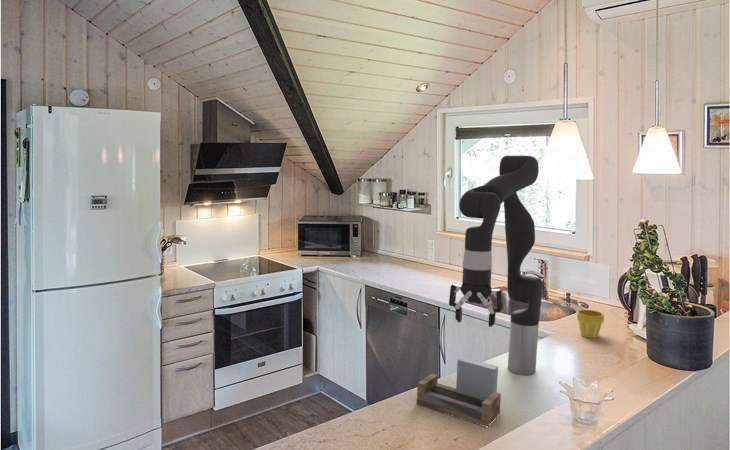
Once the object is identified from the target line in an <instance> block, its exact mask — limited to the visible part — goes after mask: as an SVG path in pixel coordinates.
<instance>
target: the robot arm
mask: <svg viewBox="0 0 730 450" xmlns="http://www.w3.org/2000/svg"><path fill="white" fill-rule="evenodd" d="M539 168H540V166H539V162H538V160H537V158H536V157H534V156H531V155H504V156H503V157H502V158H501V159H500V162H499V170H498V172H499V175H497V176H495V177H493V178H491V179H490V180H488V181H487V182H486V183H484V184H483V185H479V186H477V187H474V188H470V189H469V190H466V191H465V192H464V193H463V194H462V195H461V197H460V200H459V205H458V207H459V211H460V213H461V214H462V215H463V216H464V217H467V218H470V219H471V218H472V219H482V223H481V224H480V225H478V226H477V225H476V226H470V227H468V228H467V229H466V230H465V234H464V236H465V237H464V252H463V256H462V257H463V258H462V259H463V261H462V284H461V285H460V284H457V283H456V282H454V283H453V284H451V285H450V287H449V288H450V289H449V299H448V306H450V307H453V308H454V309H455V320H456V321H457V323H461V322H462V320H463V307H462V306H463V305H464V304H465V303H466V302H468V303H471V304H473V303H475V304H478V305H481V304H483V306H484V307H485V308H486V309H487V310H488V312H489V313H488V327H489V328H492V326H494V325H495V323H496V314H497V313H501V312H502V311H503V310H504V295H503V293H504V292H503V289H502V288H498V289H493V288H492V286H491V285H492V269H493V267H492V265H493V264H492V263H493V255H492V244H493V241H492V240H493V233H494V228H495V226H496V223H497V219H498V216H499V213H500V210H501V204H503V211H504V230H505V231H504V232H505V234H504V235H505V242H506V254H507V255H506V256H507V257H506V258H507V284H506V285H507V294H508V297H509V299H510V300H511V301H514V302H519V303H524V304H528V305H527V308H524V309H517V310H514V311H512V312H511V314H510V327H509V342H508V343H509V344H508V357H507V369H508V371H509V372H511V373H512V374H516V375H520V376H531V375H535V374H536V369H537V355H538V354H537V353H538V339H539V323H540V316H541V306H542V300H543V289H544V284H543V281H542V278H541V277H537V276H531V275H525V274H522V273H521V267H522V263H523V262H524V260H525V258H526V257H527V256H528V255H529V253H530V251H531V250H532V248H533V246H534V245H535V243H536V227H535V222H534V219H533V217H532V215H531V214H530V212H529V211H528V210H527V208H526V207H525V205H524V204H523V202H522V201H521V200H520V198H519V196H518V192H519V191H521V190H523V189H525V188H527V187H529V186H531V185H534V184H535V182H536V181H537V179H538V176H539V171H540V169H539ZM459 291H460V292H461V293H462V295H463V297H462V298H461V299H460V300H459V301H456V299H457V293H458V292H459ZM491 295H493V296H494V298H495V299H496V307H495V305H494V303H493V301H492V299H491V298H490V296H491Z"/></svg>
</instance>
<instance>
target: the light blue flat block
mask: <svg viewBox="0 0 730 450" xmlns="http://www.w3.org/2000/svg"><path fill="white" fill-rule="evenodd" d="M456 364H457V365H456V385H455V386H456V387H455V389H459V390H462V391H465V392H469V393H472V394H475V395H479V396H482V397H485V398H488V397H489V396H490V395H491V394H492V393H493V392H497V393H498V378H499V377H498V376H499V375H498V373H499V366H498V365H494V364H489V363H486V362H483V361H478V360H475V359H471V358H468V357H464V356H463V357H462V356H461V357H459V358H458V359H457V362H456Z"/></svg>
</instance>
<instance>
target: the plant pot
mask: <svg viewBox="0 0 730 450" xmlns="http://www.w3.org/2000/svg"><path fill="white" fill-rule="evenodd" d="M576 319H577V321H578V325H579V331H580V335H581V336H582V337H585V338H589V339H595V338H598V337H599V335H600V331H601V327H602V325H603V323H604V320H605V314H604V313H603V312H602V311H598V310H593V309H579V310H577V312H576Z"/></svg>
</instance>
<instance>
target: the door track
mask: <svg viewBox="0 0 730 450" xmlns="http://www.w3.org/2000/svg"><path fill="white" fill-rule="evenodd" d="M438 377H439V376H438V375H437V374H435V373H431V374H429V375H427V376H426V377H425V378H423V379H421V380H420V381H419V382H417V392H416V394H417V396H416V397H417V398H416V405H418V406H421V407H424V408H427V409H430V410H432V411H436V412H438V411H439V412H438V413H441V412H442V414H444V413H446V414H445V415H447V414H449V415H448V416H450V415H453V416H455V417H454V418H456V417H459V418H462V419H465V420H468V421H471V422H473V423H472V424H474V423H478V424H481V425H484V426H489V424H490V423H491V422H492V421H493V420H494V419H495V418H497V416H498V415H499V414H500V415H501V397H502V393H500V392H498V391H497V392H493V393H492V394H491V395H490V396H489V397H488V398H485V397H482V396H479V395H475V394H472V393H469V392H465V391H462V390H459V389H456V387H455V388H454V387H451V386H448V385H446V384H445V385H444V384H442V383H439V382H438ZM500 415H499V416H500ZM453 416H452V417H453ZM499 416H498V417H499ZM459 418H458V419H459ZM462 419H461V420H462ZM465 420H464V421H465ZM468 421H467V422H468ZM471 422H470V423H471ZM489 427H490V426H489Z"/></svg>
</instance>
